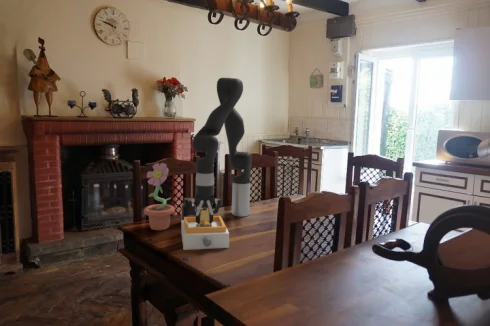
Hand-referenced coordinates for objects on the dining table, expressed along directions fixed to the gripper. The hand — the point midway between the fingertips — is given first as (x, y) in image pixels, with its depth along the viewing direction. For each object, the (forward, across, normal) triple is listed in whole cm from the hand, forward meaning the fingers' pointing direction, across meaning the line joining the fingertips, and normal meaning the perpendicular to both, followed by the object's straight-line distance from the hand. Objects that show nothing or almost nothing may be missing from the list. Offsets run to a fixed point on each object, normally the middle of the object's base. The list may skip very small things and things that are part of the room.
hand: (204, 223), depth 159 cm
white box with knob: (+7, 0, +1) cm, 8 cm away
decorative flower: (+8, +19, -19) cm, 28 cm away
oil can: (+3, 0, 0) cm, 3 cm away
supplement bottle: (+8, +5, -25) cm, 27 cm away
